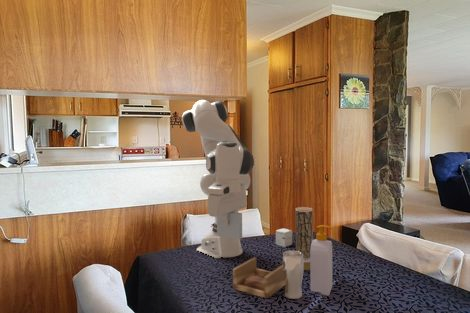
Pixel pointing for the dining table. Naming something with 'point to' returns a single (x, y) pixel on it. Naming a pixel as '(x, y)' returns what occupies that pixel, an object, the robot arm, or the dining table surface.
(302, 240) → the brown bark cylinder
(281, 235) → the skincare box
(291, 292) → the beer glass
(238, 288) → the tray
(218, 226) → the grey block
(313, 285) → the soap bottle
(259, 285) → the offcut
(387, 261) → the dining table surface
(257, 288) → the offcut
